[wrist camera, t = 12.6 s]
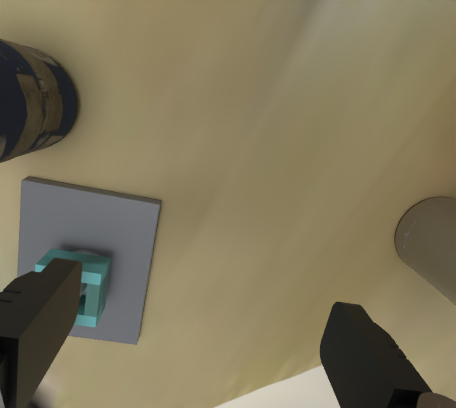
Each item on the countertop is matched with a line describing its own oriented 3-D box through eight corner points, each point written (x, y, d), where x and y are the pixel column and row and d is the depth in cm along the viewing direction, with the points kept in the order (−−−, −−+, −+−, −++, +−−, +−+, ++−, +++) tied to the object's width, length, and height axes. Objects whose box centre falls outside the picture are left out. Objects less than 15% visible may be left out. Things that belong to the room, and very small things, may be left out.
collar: (110, 257, 37) (101, 274, 33) (105, 307, 38) (95, 327, 35) (51, 248, 36) (35, 264, 33) (47, 299, 38) (32, 319, 34)
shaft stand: (161, 200, 39) (148, 230, 30) (139, 336, 44) (122, 395, 35) (28, 176, 37) (-25, 201, 29) (21, 320, 42) (-26, 378, 34)
